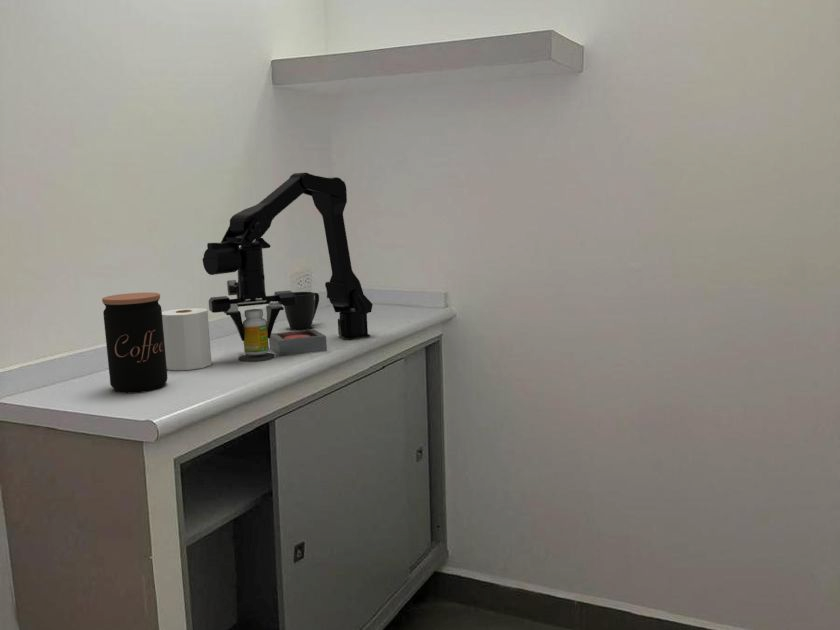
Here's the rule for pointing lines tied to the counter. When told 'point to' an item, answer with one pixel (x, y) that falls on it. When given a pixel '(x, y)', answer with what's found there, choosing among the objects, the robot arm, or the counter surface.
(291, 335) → the button
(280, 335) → the grey square tray
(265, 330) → the supplement bottle
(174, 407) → the counter surface
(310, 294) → the mug
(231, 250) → the robot arm
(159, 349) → the coffee jar
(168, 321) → the toilet paper
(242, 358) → the coaster
